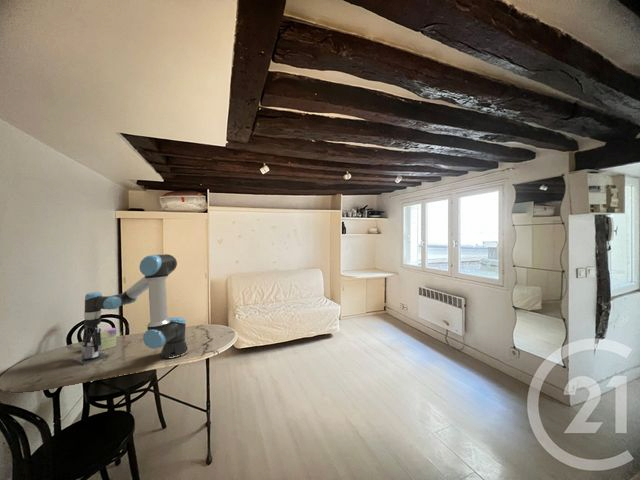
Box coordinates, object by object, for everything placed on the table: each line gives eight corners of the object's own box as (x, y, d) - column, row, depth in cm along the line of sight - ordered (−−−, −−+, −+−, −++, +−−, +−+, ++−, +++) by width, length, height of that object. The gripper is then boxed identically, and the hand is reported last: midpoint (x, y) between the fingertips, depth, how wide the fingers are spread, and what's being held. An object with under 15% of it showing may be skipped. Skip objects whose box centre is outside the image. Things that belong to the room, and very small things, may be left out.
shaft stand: (108, 357, 156) (108, 340, 156) (83, 365, 145) (84, 347, 145) (97, 353, 161) (98, 337, 161) (73, 361, 150) (73, 343, 150)
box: (113, 344, 175) (114, 327, 176) (116, 346, 172) (116, 329, 172) (93, 349, 167) (94, 331, 167) (96, 351, 164) (97, 333, 164)
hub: (102, 354, 155) (103, 343, 155) (86, 359, 148) (87, 347, 148) (95, 352, 158) (96, 341, 158) (79, 357, 151) (79, 345, 151)
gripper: (109, 318, 153) (108, 356, 152) (91, 314, 161) (89, 350, 161) (94, 322, 146) (92, 361, 145) (75, 317, 154) (74, 354, 154)
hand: (91, 355), depth 153 cm, fingers closed on hub, 8 cm apart
